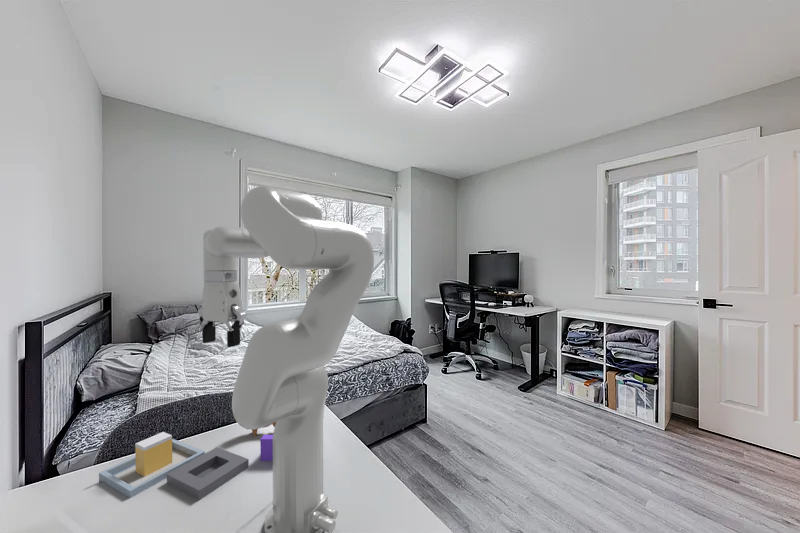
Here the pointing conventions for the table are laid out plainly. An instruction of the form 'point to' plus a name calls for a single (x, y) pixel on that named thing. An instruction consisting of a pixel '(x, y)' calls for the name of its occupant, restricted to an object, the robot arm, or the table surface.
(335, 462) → the table surface
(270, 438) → the purple rectangular block
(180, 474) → the block
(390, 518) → the table surface
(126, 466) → the tray
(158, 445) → the block
